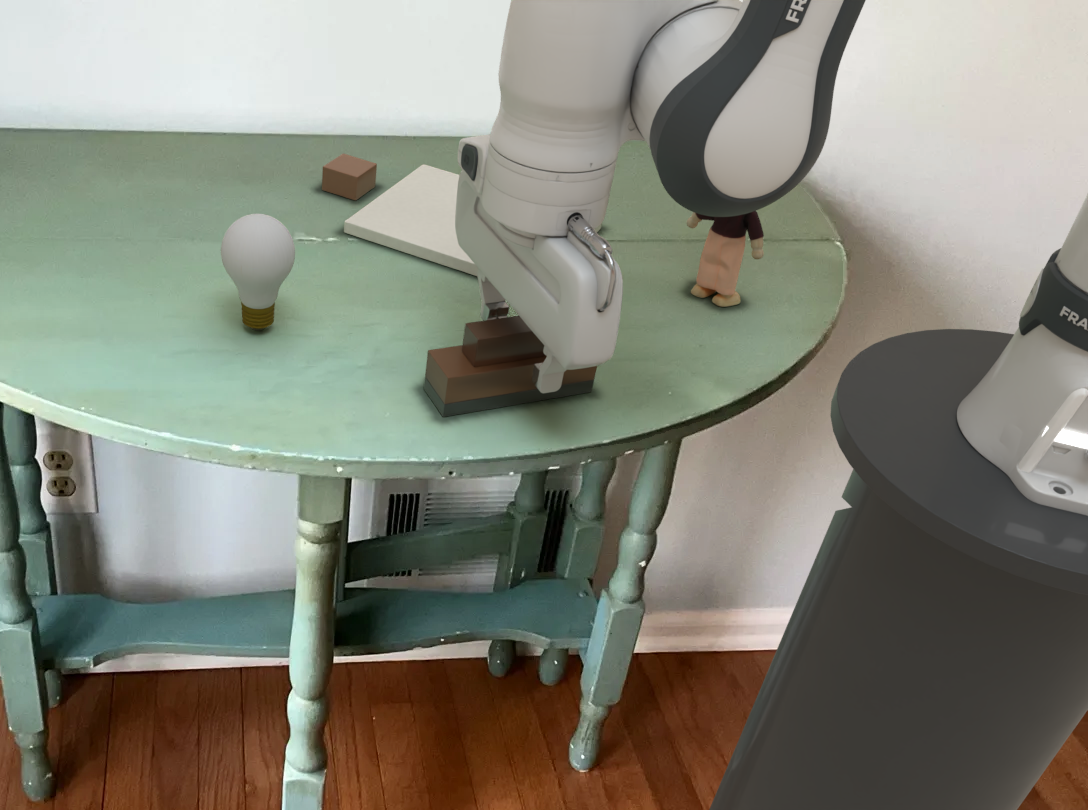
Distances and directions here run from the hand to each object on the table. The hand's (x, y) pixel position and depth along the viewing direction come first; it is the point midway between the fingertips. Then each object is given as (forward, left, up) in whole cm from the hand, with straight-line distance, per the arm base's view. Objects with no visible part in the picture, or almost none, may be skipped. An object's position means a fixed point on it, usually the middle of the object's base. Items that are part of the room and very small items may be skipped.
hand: (518, 354), depth 92 cm
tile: (+15, -23, -4) cm, 27 cm away
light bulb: (+22, +4, -4) cm, 22 cm away
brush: (0, 0, -4) cm, 4 cm away
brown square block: (+29, -23, -4) cm, 37 cm away
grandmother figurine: (-8, -25, -4) cm, 27 cm away
